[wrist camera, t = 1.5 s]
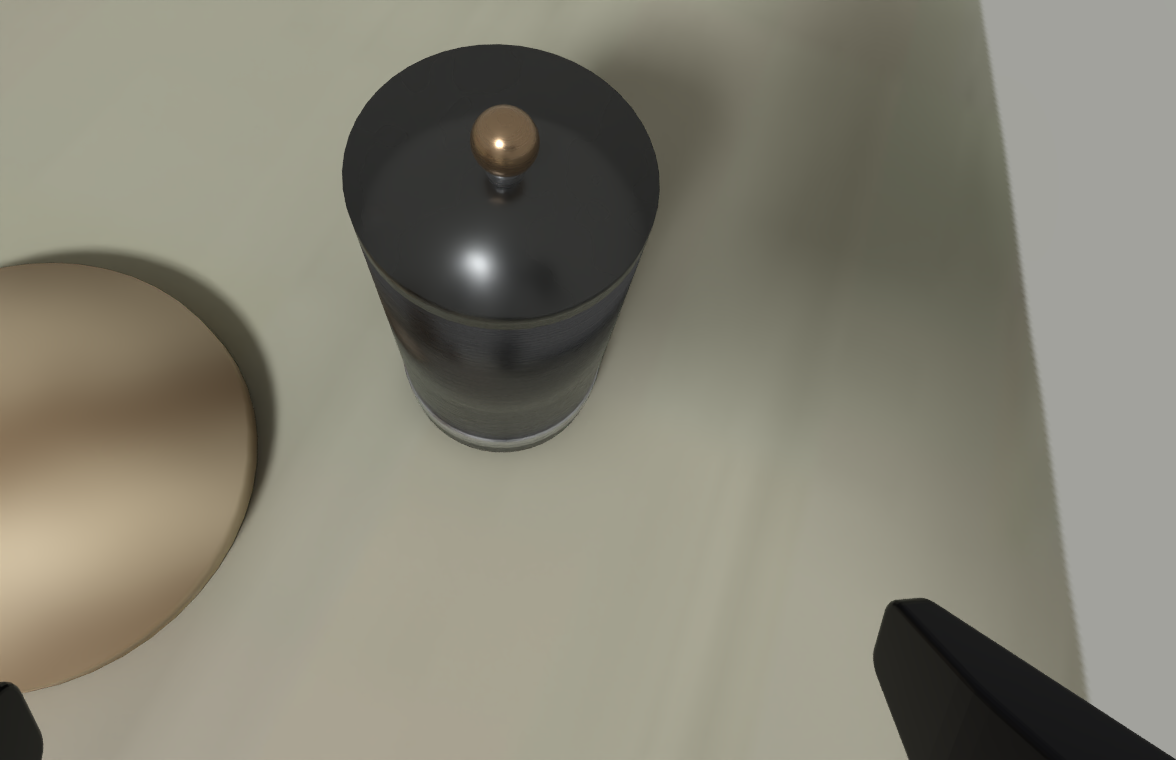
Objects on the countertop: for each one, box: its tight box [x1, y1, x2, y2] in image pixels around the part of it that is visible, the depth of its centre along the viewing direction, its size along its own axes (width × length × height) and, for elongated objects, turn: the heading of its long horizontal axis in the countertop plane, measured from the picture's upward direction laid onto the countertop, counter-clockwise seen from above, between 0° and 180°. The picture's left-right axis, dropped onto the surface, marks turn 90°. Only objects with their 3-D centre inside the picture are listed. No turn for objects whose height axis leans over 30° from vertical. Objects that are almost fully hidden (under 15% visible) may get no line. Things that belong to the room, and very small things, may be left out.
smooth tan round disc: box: [0, 263, 258, 693], centre depth 21 cm, size 12×12×1 cm
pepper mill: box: [342, 44, 660, 452], centre depth 18 cm, size 8×6×12 cm
